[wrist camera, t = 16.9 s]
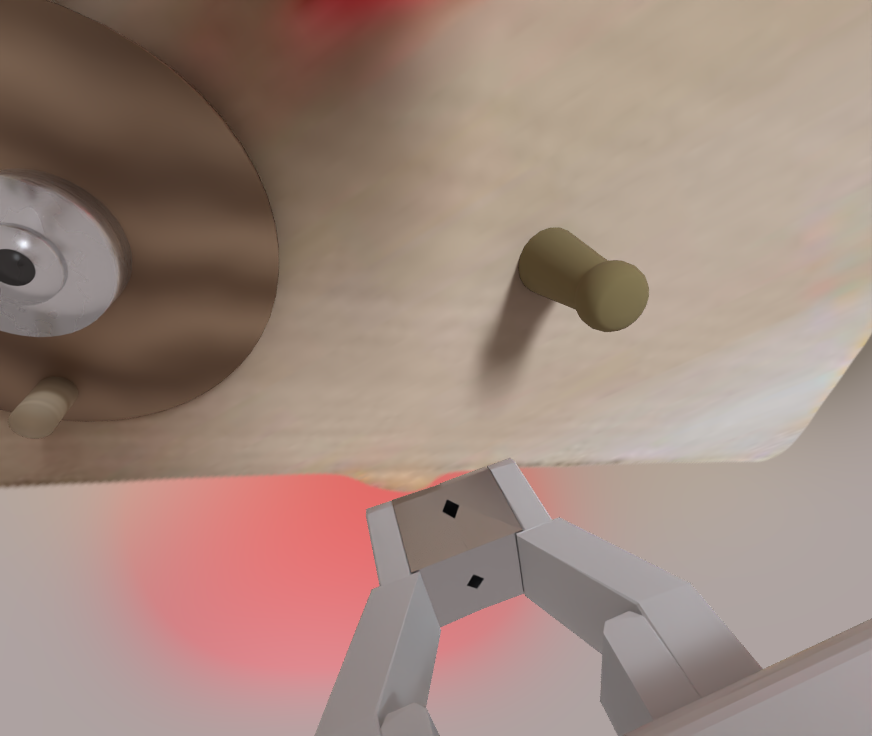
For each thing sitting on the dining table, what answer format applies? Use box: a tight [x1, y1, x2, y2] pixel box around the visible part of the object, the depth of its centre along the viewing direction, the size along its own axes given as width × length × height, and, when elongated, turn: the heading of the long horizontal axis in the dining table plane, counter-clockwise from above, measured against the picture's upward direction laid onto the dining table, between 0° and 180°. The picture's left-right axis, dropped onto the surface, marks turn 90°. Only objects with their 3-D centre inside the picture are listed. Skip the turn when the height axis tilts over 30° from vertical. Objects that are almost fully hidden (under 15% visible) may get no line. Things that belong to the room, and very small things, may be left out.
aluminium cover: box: [0, 169, 132, 337], centre depth 26 cm, size 9×9×4 cm
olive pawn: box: [518, 228, 649, 332], centre depth 36 cm, size 6×6×11 cm
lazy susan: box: [0, 0, 279, 439], centre depth 27 cm, size 26×26×6 cm
